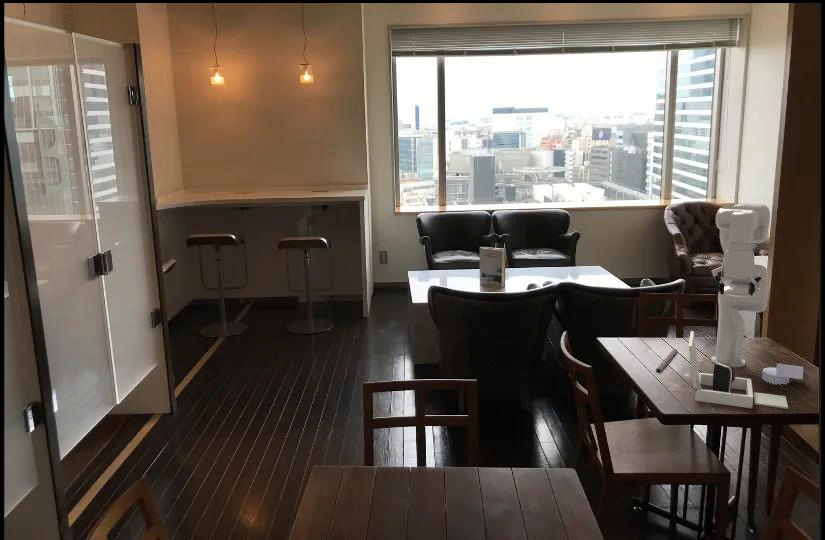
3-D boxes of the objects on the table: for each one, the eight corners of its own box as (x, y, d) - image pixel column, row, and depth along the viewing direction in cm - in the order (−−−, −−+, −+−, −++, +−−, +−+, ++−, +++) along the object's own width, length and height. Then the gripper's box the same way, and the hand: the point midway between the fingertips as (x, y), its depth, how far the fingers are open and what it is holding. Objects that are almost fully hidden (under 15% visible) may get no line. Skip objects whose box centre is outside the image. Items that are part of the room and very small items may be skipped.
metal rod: (677, 353, 283) (677, 349, 282) (660, 373, 261) (661, 368, 260) (672, 352, 284) (672, 348, 283) (655, 372, 262) (656, 367, 261)
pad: (753, 393, 239) (753, 392, 239) (785, 397, 235) (785, 396, 235) (754, 404, 230) (755, 402, 230) (787, 408, 226) (788, 407, 226)
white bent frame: (687, 381, 252) (690, 330, 247) (750, 389, 243) (755, 337, 239) (684, 399, 236) (688, 345, 231) (752, 408, 227) (757, 352, 223)
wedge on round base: (800, 379, 251) (762, 374, 257) (802, 362, 250) (763, 357, 256) (801, 388, 243) (761, 382, 249) (803, 370, 242) (763, 365, 248)
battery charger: (735, 397, 236) (737, 366, 234) (727, 399, 235) (730, 368, 232) (718, 390, 242) (721, 360, 240) (711, 392, 241) (713, 362, 238)
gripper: (763, 246, 238) (759, 292, 241) (711, 244, 241) (707, 291, 245) (770, 249, 231) (765, 297, 234) (716, 248, 234) (712, 295, 237)
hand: (736, 294), depth 239 cm, fingers open, 9 cm apart
